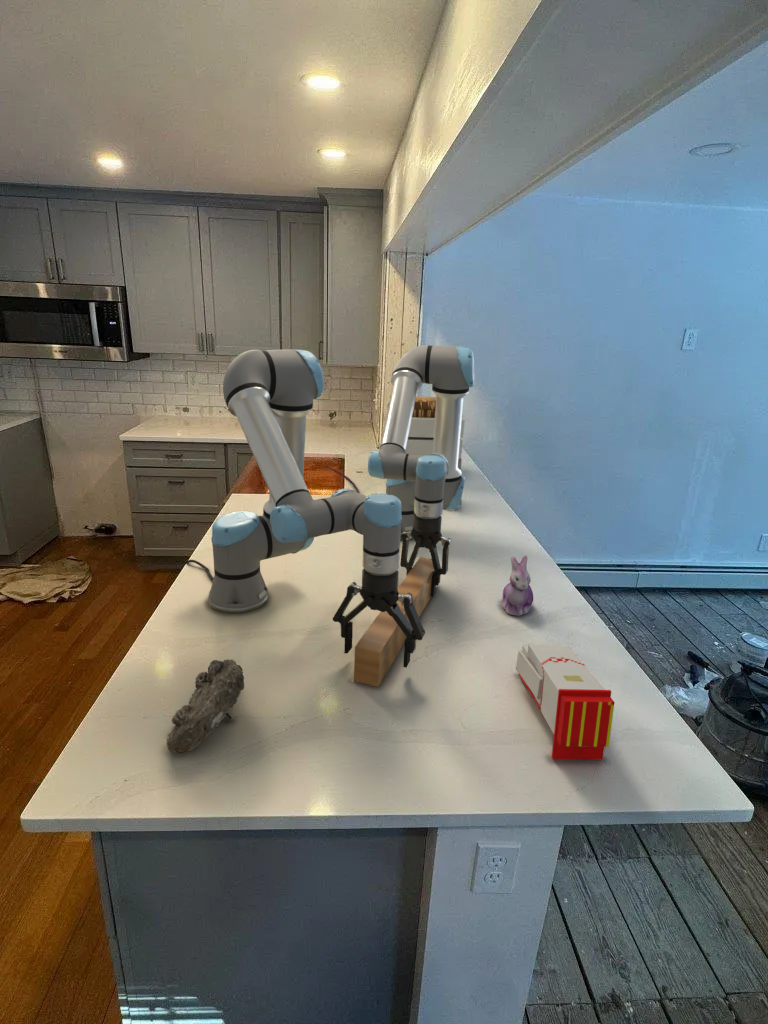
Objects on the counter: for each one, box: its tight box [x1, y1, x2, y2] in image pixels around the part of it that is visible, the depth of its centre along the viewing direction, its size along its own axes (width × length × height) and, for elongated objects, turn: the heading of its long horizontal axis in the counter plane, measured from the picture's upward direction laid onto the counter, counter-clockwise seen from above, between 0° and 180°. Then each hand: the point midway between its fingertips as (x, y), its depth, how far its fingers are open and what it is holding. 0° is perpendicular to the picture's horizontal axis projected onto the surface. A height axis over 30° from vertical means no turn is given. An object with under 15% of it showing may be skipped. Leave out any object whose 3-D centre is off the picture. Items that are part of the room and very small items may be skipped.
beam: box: [353, 556, 438, 688], centre depth 140 cm, size 50×6×8 cm, turn 161°
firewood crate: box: [385, 395, 465, 471], centre depth 268 cm, size 34×33×41 cm
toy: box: [515, 643, 615, 761], centre depth 113 cm, size 12×13×30 cm
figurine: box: [501, 555, 534, 617], centre depth 150 cm, size 9×10×15 cm
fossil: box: [166, 658, 245, 754], centre depth 106 cm, size 22×10×15 cm
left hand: (376, 657), depth 124 cm, fingers open, 13 cm apart
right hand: (422, 592), depth 158 cm, fingers closed on beam, 6 cm apart
